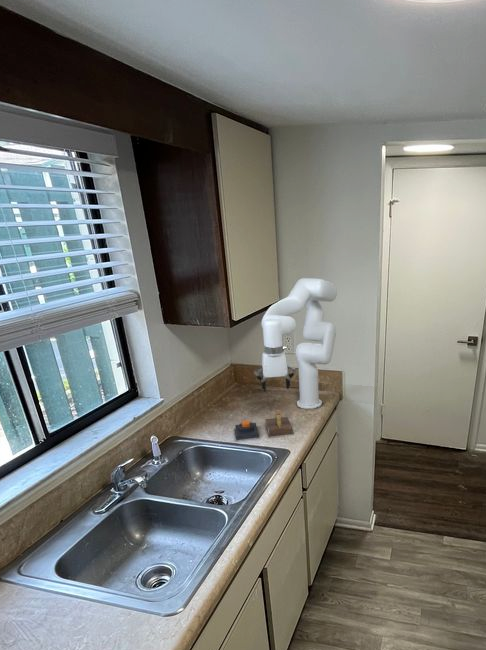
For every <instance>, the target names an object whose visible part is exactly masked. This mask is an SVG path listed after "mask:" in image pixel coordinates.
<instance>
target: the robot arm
mask: <svg viewBox="0 0 486 650" xmlns="http://www.w3.org/2000/svg"><path fill="white" fill-rule="evenodd" d="M337 295H338V289H337V287H336V284H335V283H333V282H331V281H328V280H325V279H322V278H315V277H314V278H313V277H311V278H310V277H302V278H299V279H298V280H297V281H296V282H295V284H294V286H293V287H292V289H291V290H290V292H289V293H288V295H287V296H286V297H285V298H282V299H281V300H279V301H277V302H275V303H273V304H271V306H269V308H268V309H267V310H266V312H265V313H264V314H263V316H262V319H261V328H262V334H263V350H264V352H262V355H261V367H259V368H258V369H255V370H254V371H253V374H254V375H255V376H256V379H257V380H259V381H260V382H261V389H262V390H263V391H264V392H266V391H267V384H266V380H267V379H269V378H282V377H284V378H285V388H286V389H287V390H290V387H291V379H292V378H293V377H294V375H295V373H296V372H297V370H298V389H299V391H298V392H299V399H298V400H297V401H296V406H297V407H298V408H300V409H305V410H313V409H317V408H320V407H321V406H322V405H323V401H322V400H321V399H320V396H319V392H320V391H319V389H320V388H319V370H318V367H317V365H329V364H330V362H331V360H332V356H333V352H334V346H335V341H336V334H337V331H336V327H335V324H334V323H332V322H329V321H324V316H325V311H324V308H323V306H322V305H321V303H320V302H327V303H328V302H330V303H331V302H334V301H335V300H336V298H337ZM304 308H305V309H306V313H305V319H304V324H303V328H302V329H303V330H302V336H303V338H304V339H305V340H306V341H305V342H300V343H298V344H297V346H296V347H295V357H296V361H297V367H298V369H297V368H295V367H293V366H290V365H288V363H287V356H286V352H285V351H286V350H287V346H285V345H284V344H283V343H284V342H283V341H284V340H283V336H286V335H288V336H289V335H291V334H293V333H294V332H295V330H296V328H297V322H296V319H295V318H294V317H292V316H290V315H293V314H297V313H300V312H302V311H303V310H304ZM307 341H310V342H307ZM315 342H321V343H315ZM288 371H290V373H289V374H288ZM261 372H262V375H261V376H260V375H259V374H260V373H261Z"/></svg>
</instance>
